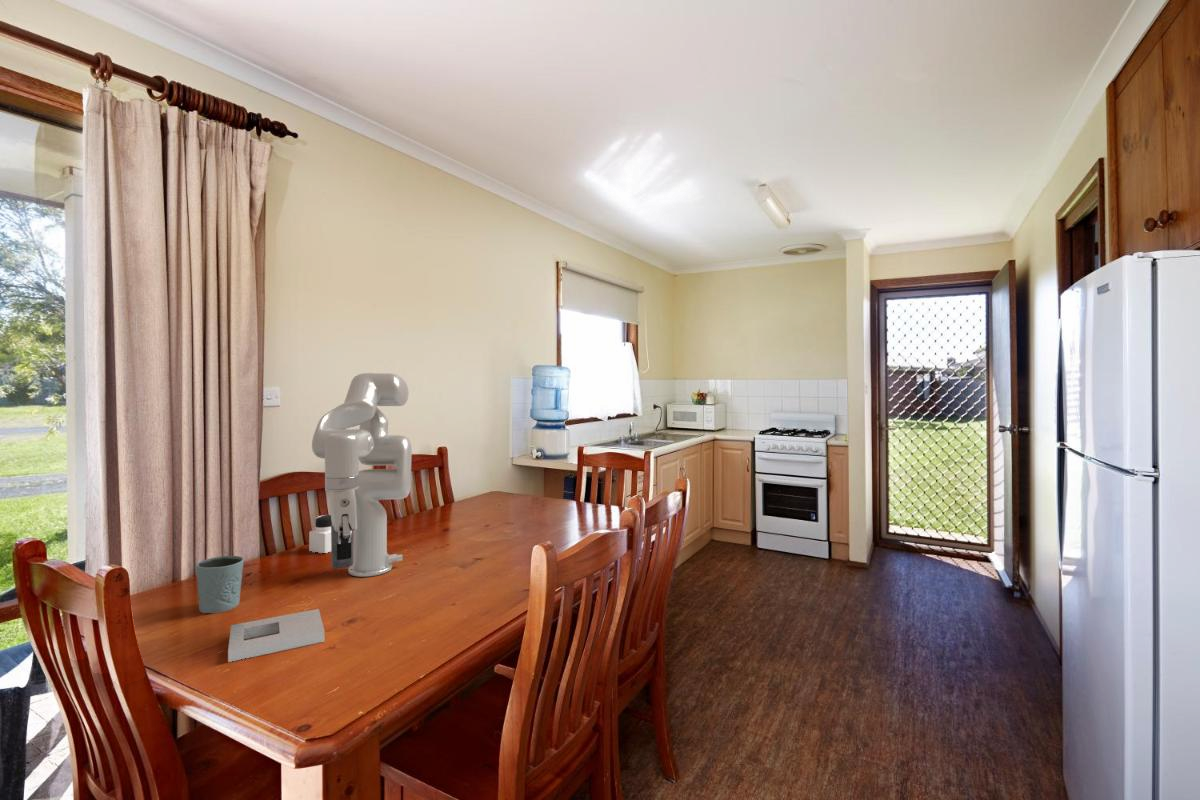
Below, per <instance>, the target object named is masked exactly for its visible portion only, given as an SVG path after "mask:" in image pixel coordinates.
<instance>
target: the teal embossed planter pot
mask: <svg viewBox="0 0 1200 800" xmlns="http://www.w3.org/2000/svg"><path fill="white" fill-rule="evenodd" d="M244 562H245V559H244V557H242V556H239V555H221V556H216V557H210V558H207V559H204V560H201V561H199V562H198V563H196V565H195V567H196V579H197V583H196V584H197V593H198V594H197V595H198V600H199V601H198V609H199V612H200V613H201V612H202V613H201V614H204V613H214V614H219V613H218V612H221V613H224V612H223V611H225V612H227V610H228V611H230V609H231V610H233V609H235V608H237V607H238V606H239V604H240V602H241V601H240V599H241V588H242V580H243V579H242V578H243V568H244ZM237 605H238V606H237ZM236 606H237V607H236ZM234 607H235V608H234ZM232 608H233V609H232Z"/></svg>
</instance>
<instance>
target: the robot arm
mask: <svg viewBox="0 0 1200 800" xmlns="http://www.w3.org/2000/svg"><path fill="white" fill-rule="evenodd" d="M408 399H409V387H408V385H407V382H406V381H405V380H404V378H403V377H401V376H400V375H398V374H395V373H390V372H389V373H386V372H385V373H382V372H381V373H378V372H377V373H374V372H364V373H359V374H357V375H356V376H354V377H353V378H352V380H351V382H350V385H349V387H348V391H347V393H346V396H345V399H344V403H342V404H339V405H337V406H336V407H334V408H333V409H331V410H330V411H328V412H327V413H325V414H324V415H322V416H321V418H320V419H319V421H318V423H317V425H316V428H315V431H314V433H313V436H312V441H311V449H312V452H313V454H314V455H315V456H316V457H317V458H319V459H324V490H325V491H326V492H330V493H329V494H330V501H329V503H330V504H329V505H330V515H331V521H332V525H333V527H334V530H335V531H336V532H337V533H338V544H337V560H344V559H350V558H351V534H350V526H351V528H352V529H353V538H354V564H353V565H352V566H349V567H348V570H347V571H348V572H347V573H348V574H349V575H351V576H354V577H362V578H363V577H366V578H367V577H374V576H375V577H376V576H379V575H383V574H386V573H387V572H390V571H391V569H392V568H393V562H402V561H403V554H397V553H393V554H389V553H388V550H387V549H388V548H387V547H388V543H387V542H388V541H387V540H388V539H387V538H388V535H387V534H388V532H387V531H388V530H387V528H388V526H387V525H388V517H387V511H386V509H385V507H384V505H382V504H381V502H380V501H387V500H403V499H406V498H408V496H409V494H410V492H411V484H412V456H413V455H412V452H413V451H412V444H411V440H410V439H409V438H408V437H407V436H405V435H399V434H398V435H396V434H395V435H393V434H392V435H390V434H389V420H388V418H387V417H386V415H385V414H384V413H383V411H382V410H381V409H379V407H402V406H404V405H405V404H406V403H407V402H408ZM358 426H359V428H357V429H353V428H354V427H358ZM350 428H352V429H350ZM359 462H360V464H361V465H365V466H395V468H387V469H386V468H384V469H383V468H375V469H374V468H373V469H371V468H370V469H362V470H359V469H360V468H359ZM340 528H343V530H342V531H340ZM340 533H343V534H342V535H341V534H340Z"/></svg>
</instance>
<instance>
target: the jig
mask: <svg viewBox="0 0 1200 800" xmlns="http://www.w3.org/2000/svg"><path fill="white" fill-rule="evenodd" d="M229 633H230V634H229V640H228V649H227V663H231V662H232V661H233V662H237V661H242V660H246V659H249V658H250V657H251V658H257V657H260V656H264V655H269V654H275V653H279V652H282V651H287V650H292V649H296V648H301V647H306V646H311V645H315V644H319V643H324V642H325V628H324V624H323V620H322V616H321V613H320V608H315V609H312V610H305V611H300V612H296V613H290V614H288V613H287V614H284V615H278V616H273V617H267V618H263V619H258V620H252V621H247V622H241V623H237V624H236V623H235V624H231V625H230V632H229ZM245 658H246V659H245ZM251 658H250V659H251ZM241 659H242V660H241ZM233 662H232V663H233Z"/></svg>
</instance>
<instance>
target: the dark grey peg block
mask: <svg viewBox="0 0 1200 800" xmlns="http://www.w3.org/2000/svg"><path fill="white" fill-rule="evenodd" d="M342 530H343V528H340V531H342ZM340 534H341V535H342V534H343V533H340ZM350 534H351V558H350V559H344V560H337V544H338V533H337V532H336V531H335V530H334V527H333V525H331V552H330V553H331V556H330V557H331V558H330V559H331V564H330V565H331V568H333V569H345V568H349V567H351V566H352V565H354V529H352V528H351V526H350Z"/></svg>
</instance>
